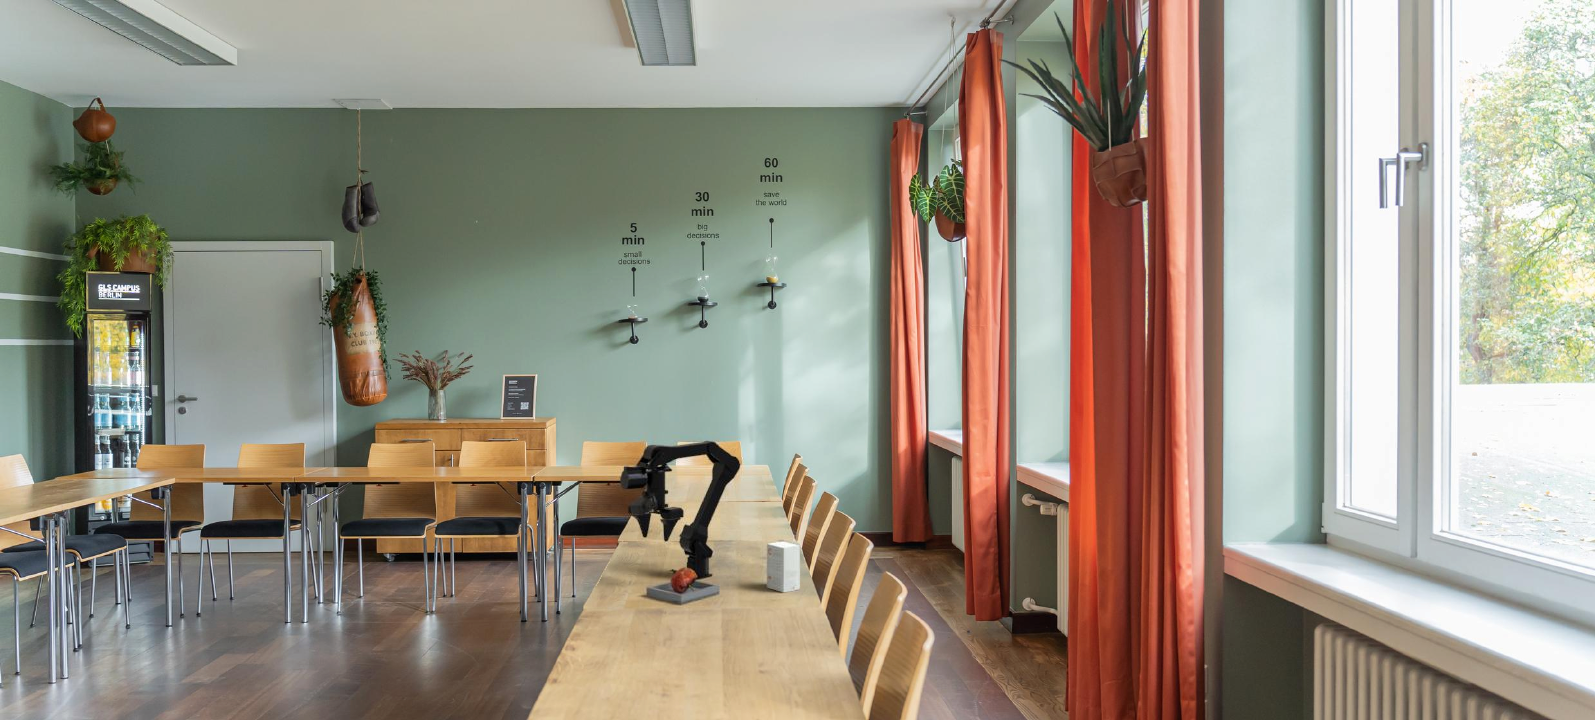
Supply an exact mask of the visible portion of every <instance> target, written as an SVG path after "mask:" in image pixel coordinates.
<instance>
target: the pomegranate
mask: <svg viewBox="0 0 1595 720" xmlns="http://www.w3.org/2000/svg"><path fill="white" fill-rule="evenodd" d="M670 572H673V575H672V577H671V578H670V582H671V587H672V588H673V590H674V591H675V592H677V593H679V594H682V593H683V592H684V591H686V590H687V589H689V588H690V589H691V590H693V589H692V588H691V585H692V584H693V583H694V582H695V580H697V579H696V578H697V575H696V573H695V572H694V571H693V570H692V569H690V568H687V567H681V568H679V569H678V570H675V569H673V568H672V569H670ZM693 591H694V590H693Z"/></svg>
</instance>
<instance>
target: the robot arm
mask: <svg viewBox="0 0 1595 720" xmlns="http://www.w3.org/2000/svg"><path fill="white" fill-rule="evenodd" d="M705 455H706V457H707V458H708V460H709V461H710V462H711V463H712V464H713V466H712V469H711V474H712V475H711V476H712V477H711V482H710V483H709V486H708V487H707V489H706V490H707V491H706V493H705V494H704V497H703V498H702V499H703V500H702V502H701V503H700V506H699V508H698V511H697V513H696V515H695V518H694V519H693V521H692V522H691V523H690V524H684V525H683V527H682V528H683V529H682V531H681V533H680V534H679V536H678V537H679V540H678V541H679V542H678V544H679V546H680V548H681V550H683V552H684V556H687V557H686V558H687V560H686V561H687V562H686V568H690V569H692V570H693V571H694V572H695V573H696V575H697V578H696V579H695V580H701V579H705V578H708V577H712V576H713V573H710V561H709V559H711V558H712V557H713V553H714V550H713V549H712V548H711V547H710V546H708V544H707V542H708V539H709V526H710V525H711V521H712V518H713V517H714V514H715V512H716V509H717V507H718V505H719V503H720V501H721V499H722V496H723V493H724V491H725V489H726V486H727V485H728V484H729V483H730V482H731V481H732V480H733V479H735V477H736V475H737V473H739V471H740V468H741V462H740V460H739V458H738V457H737V456H734V455H732V454H731V453H729V452H727V450H725V449H724V448H722V447H721V446H720V445H719V444H717V442H715V441H711V440H705V441H700V442H693V443H686V444H678V445H663V444H662V445H661V444H648V445H647V446H646V447H645V449H644V450H643V455H642V456H641V457H640V459H639V460H638V462H637V463H636V465H634V466H629V465H625V466H623V471H622V472H621V474H620V478H619V481H620V486H621V488H622V489H623V490H624V491H627V490H628V491H629V490H639V489H644V488H645V490H642V492H641V493H642V494H641V497H637V499H635V500H633V501H632V502H631V503H629V505H628V507H627V514H630V516H631V517H633V518H634V519H636V521H637V523H638V525H639V529H640V531H641V534H642V538H647V537H648V533H649V529H650V523H651V518H652V514H655V515H660V519H659V520H660V522H661V523H662V528H663V531H662V532H663V541H664V542H668V541H669V539H670V537H671V535H672V533H673V531H674V529H675V527H676V525H677V523H678V521H680V520H681V519H682V518H684V516H685V515H684V512H685V511H684V509H683V508H682V507H677V506H670V507H669V503H666V495H668V494H669V490H668V489H666V473H669V472H672V471H673V469H672V468H671V467H670V466H669V465H668V464H669V463H672V462H674V461H675V460H678V459H684V458H691V457H698V456H700V457H701V456H705Z"/></svg>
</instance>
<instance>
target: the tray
mask: <svg viewBox="0 0 1595 720" xmlns="http://www.w3.org/2000/svg"><path fill="white" fill-rule="evenodd" d="M691 588H692V589H693V590H694V591H693V590H691V589H690V588H689V589H687V590H686V591H684V592H683V593H682V594H679V593H677V592H675V591H674V590H673V588H672V587H671V581H667V582H664V583H660V584H655V585H652V586H648V587H646V597H647V598H651V597H653V598H652V599H655V600H661V601H665V602H668V603H672V604H676V605H685V604H688V603H693V602H696V601H700V600H703V599H707V598H711V597H714V596H717V595H720V585H719V584H714V583H711V582H705V581H700V580H698V579H695V582H694V583H693V584H692V585H691Z"/></svg>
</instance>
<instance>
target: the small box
mask: <svg viewBox="0 0 1595 720" xmlns="http://www.w3.org/2000/svg"><path fill="white" fill-rule="evenodd" d="M800 546H801V545H800V544H795V543H792V542H787V541H777V542H770V543H767V544H766V587H767V588H766V589H771V590H773V591H777V592H781V593H790V592H794V591H798V590H800V588H801V576H800V575H801V556H800V555H801V551H800V550H801V547H800Z"/></svg>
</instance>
